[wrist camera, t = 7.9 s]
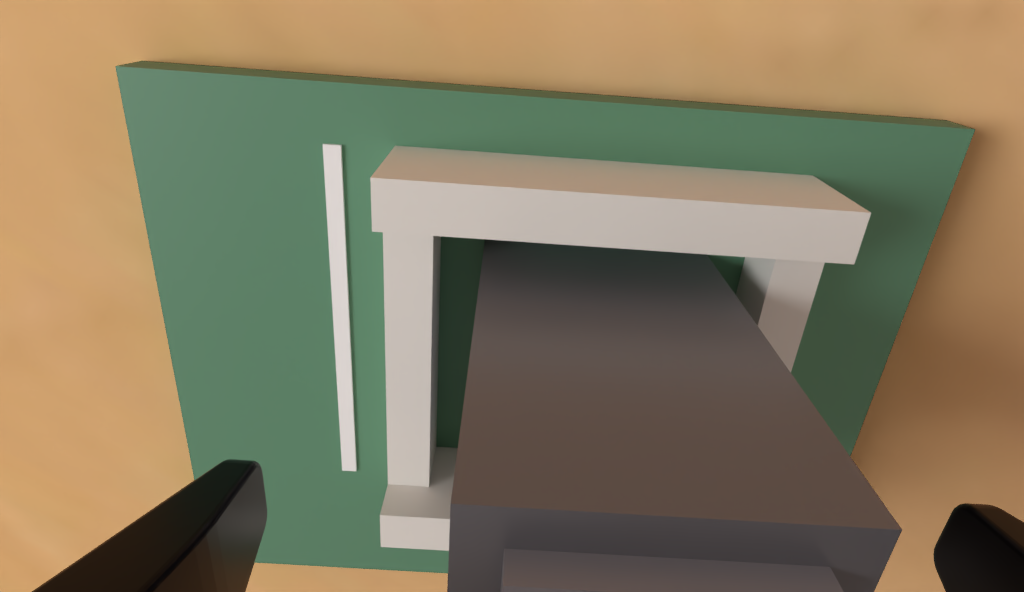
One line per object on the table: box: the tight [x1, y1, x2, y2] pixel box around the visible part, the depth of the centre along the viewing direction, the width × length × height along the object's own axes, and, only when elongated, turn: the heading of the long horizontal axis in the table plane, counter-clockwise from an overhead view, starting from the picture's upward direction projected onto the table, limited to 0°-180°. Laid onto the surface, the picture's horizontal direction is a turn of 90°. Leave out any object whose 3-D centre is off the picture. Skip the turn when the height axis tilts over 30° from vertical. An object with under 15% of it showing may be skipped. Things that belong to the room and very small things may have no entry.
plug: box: [447, 239, 902, 592], centre depth 9 cm, size 4×4×7 cm
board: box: [116, 61, 975, 573], centre depth 12 cm, size 14×11×3 cm
